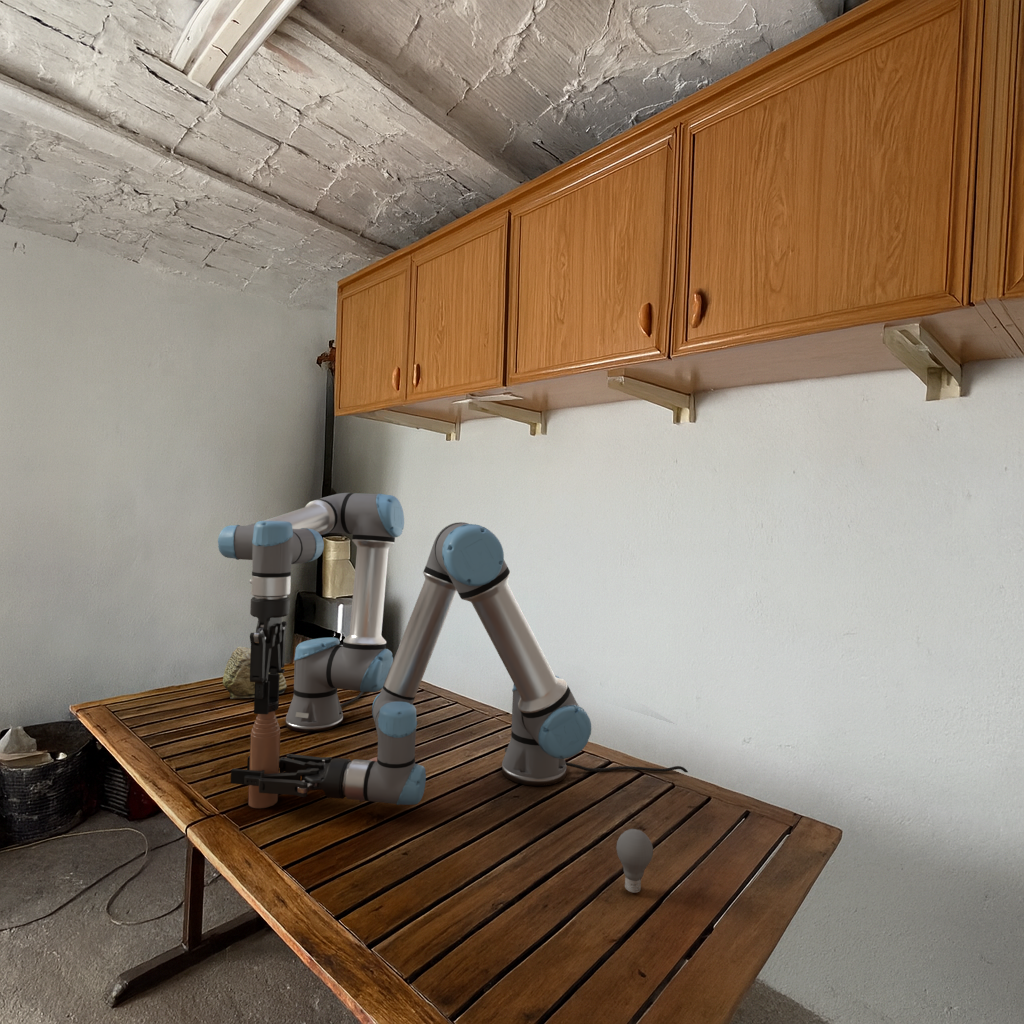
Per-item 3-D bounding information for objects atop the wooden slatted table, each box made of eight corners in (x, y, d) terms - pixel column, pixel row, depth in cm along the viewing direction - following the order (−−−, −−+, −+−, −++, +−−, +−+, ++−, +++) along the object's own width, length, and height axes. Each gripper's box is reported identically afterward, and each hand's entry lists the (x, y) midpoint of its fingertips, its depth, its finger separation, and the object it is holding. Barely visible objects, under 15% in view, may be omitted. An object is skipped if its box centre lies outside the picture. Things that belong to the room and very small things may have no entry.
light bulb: (610, 879, 108) (613, 822, 108) (644, 879, 109) (647, 822, 109) (619, 902, 102) (622, 840, 102) (655, 901, 103) (658, 840, 103)
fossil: (218, 695, 195) (220, 647, 195) (278, 685, 208) (279, 640, 207) (228, 703, 189) (230, 653, 188) (289, 692, 201) (290, 645, 201)
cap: (250, 712, 128) (250, 703, 128) (259, 704, 133) (260, 696, 133) (273, 713, 128) (273, 704, 128) (282, 705, 133) (282, 697, 133)
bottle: (241, 804, 129) (245, 705, 129) (262, 792, 134) (266, 698, 134) (263, 810, 127) (267, 710, 126) (283, 798, 132) (287, 702, 132)
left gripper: (269, 589, 139) (265, 695, 139) (232, 602, 121) (228, 723, 122) (303, 591, 139) (299, 696, 139) (271, 604, 121) (267, 725, 121)
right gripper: (330, 820, 119) (213, 809, 122) (363, 777, 138) (261, 768, 140) (331, 780, 119) (215, 770, 122) (364, 743, 138) (263, 734, 140)
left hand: (266, 708), depth 130 cm, fingers closed on cap, 4 cm apart
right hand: (240, 769), depth 131 cm, fingers closed on bottle, 6 cm apart
